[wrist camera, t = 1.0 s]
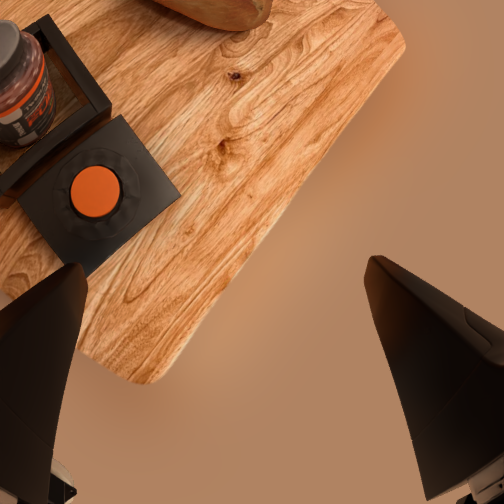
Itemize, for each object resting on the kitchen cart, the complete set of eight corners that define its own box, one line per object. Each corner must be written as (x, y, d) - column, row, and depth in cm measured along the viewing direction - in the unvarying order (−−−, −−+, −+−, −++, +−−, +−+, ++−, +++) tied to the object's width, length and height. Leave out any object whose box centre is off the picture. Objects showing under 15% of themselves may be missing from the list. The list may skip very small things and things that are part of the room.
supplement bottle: (51, 149, 20) (16, 95, 10) (-11, 150, 18) (-72, 106, 8) (64, 82, 20) (50, 1, 10) (4, 84, 18) (-36, 13, 7)
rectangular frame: (7, 209, 19) (-9, 206, 16) (-45, 115, 16) (-63, 100, 12) (111, 121, 22) (112, 104, 19) (52, 37, 19) (48, 13, 15)
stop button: (92, 227, 19) (90, 227, 18) (64, 191, 18) (61, 188, 17) (127, 197, 20) (129, 194, 19) (101, 161, 19) (100, 155, 18)
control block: (82, 279, 22) (78, 288, 19) (23, 201, 20) (9, 197, 16) (175, 198, 25) (187, 193, 22) (119, 122, 23) (122, 105, 19)
